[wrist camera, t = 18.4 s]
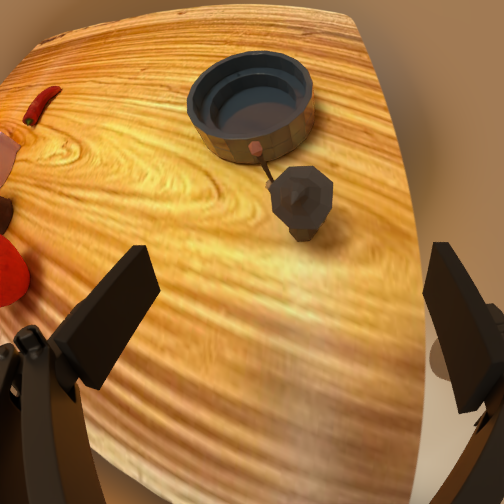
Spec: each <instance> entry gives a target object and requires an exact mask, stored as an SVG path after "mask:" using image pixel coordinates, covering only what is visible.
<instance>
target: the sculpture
mask: <svg viewBox="0 0 504 504" xmlns="http://www.w3.org/2000/svg"><path fill="white" fill-rule="evenodd" d="M12 213H13V209H12V203H11V200H10V199H9V198H8V199H6V198H4V197H1V196H0V234H1V235H2V234H3V233H4V232H5V230H6V228H7V226H8V224H9V222H10V220H11V217H12Z"/></svg>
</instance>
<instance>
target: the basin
mask: <svg viewBox="0 0 504 504" xmlns="http://www.w3.org/2000/svg"><path fill="white" fill-rule="evenodd" d="M187 113H188V115H189V117H190V119H191V121H192V123H193V124H194V126H195V128H196V129H197V131H198V133H199V134H200V136H201V137H202V139H203V141H204V142H205V144H206V146H207V147H208V148H209V149H210V150H211V151H212V152H214V153H215V154H216V155H218V156H219V157H220V158H223V159H226V160H229V161H232V162H235V163H252V164H256V163H260V162H259V160H258V159H257V157H256V156H255V155H252V154H251V152H250V149H249V147H248V146H249V144H250V143H251V142H252V141H259V142H260V145H261V147H262V149H263V150H262V155H263V157H264V160H265V161H270V160H274V159H277V158H279V157H281V156H283V155H285V154H287V153H289V152H291V151H293V150H294V149H295V148H296V147H297V146H298V145H299V144H301V143H302V142H303V141H304V140H305V139H306V138H307V136H308V134H309V132H310V130H311V128H312V126H313V124H314V115H315V104H314V90H313V82H312V79H311V77H310V74H309V72H308V70H307V69H306V68H305V67H304V66H303V65H302V64H301V63H300V62H299V61H298V60H296V59H294V58H292V57H289V56H287V55H285V54H282V53H277V52H271V51H249V52H244V53H240V54H236V55H232V56H230V57H227V58H225V59H223V60H221V61H219V62H217V63H215V64H214V65H212V66H211V67H210V68H208V69H207V70H206V71H204V72H203V73H202V74H201V75H200V76H199V77H198V79H197V80H196V81H195V82H194V84H193V85H192V87H191V89H190V92H189V95H188V97H187Z"/></svg>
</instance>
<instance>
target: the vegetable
mask: <svg viewBox="0 0 504 504" xmlns="http://www.w3.org/2000/svg"><path fill="white" fill-rule="evenodd" d="M60 90H61V88H60V87H59V86H51V87H49V88H47V89H45V90H44V91H42V92H41V93H40V94H39V95H38V96H37V97H36V98H35V99H34V101H33V102H32V103H31V105H30V106H29V108H28V110H27V112H26V114H25V115H24V117H23V123H24V124H26V125H27V126H32V125H34V124H35V123H36V122H37V120H38V117H39V116H40V114H41V112H42V110H43V108H44V106H45V105H46V103H47V102H48V101H49V100H50V99H51V98H52V97H53V96H55V95H56V94H57V93H58V92H59V91H60Z"/></svg>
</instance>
